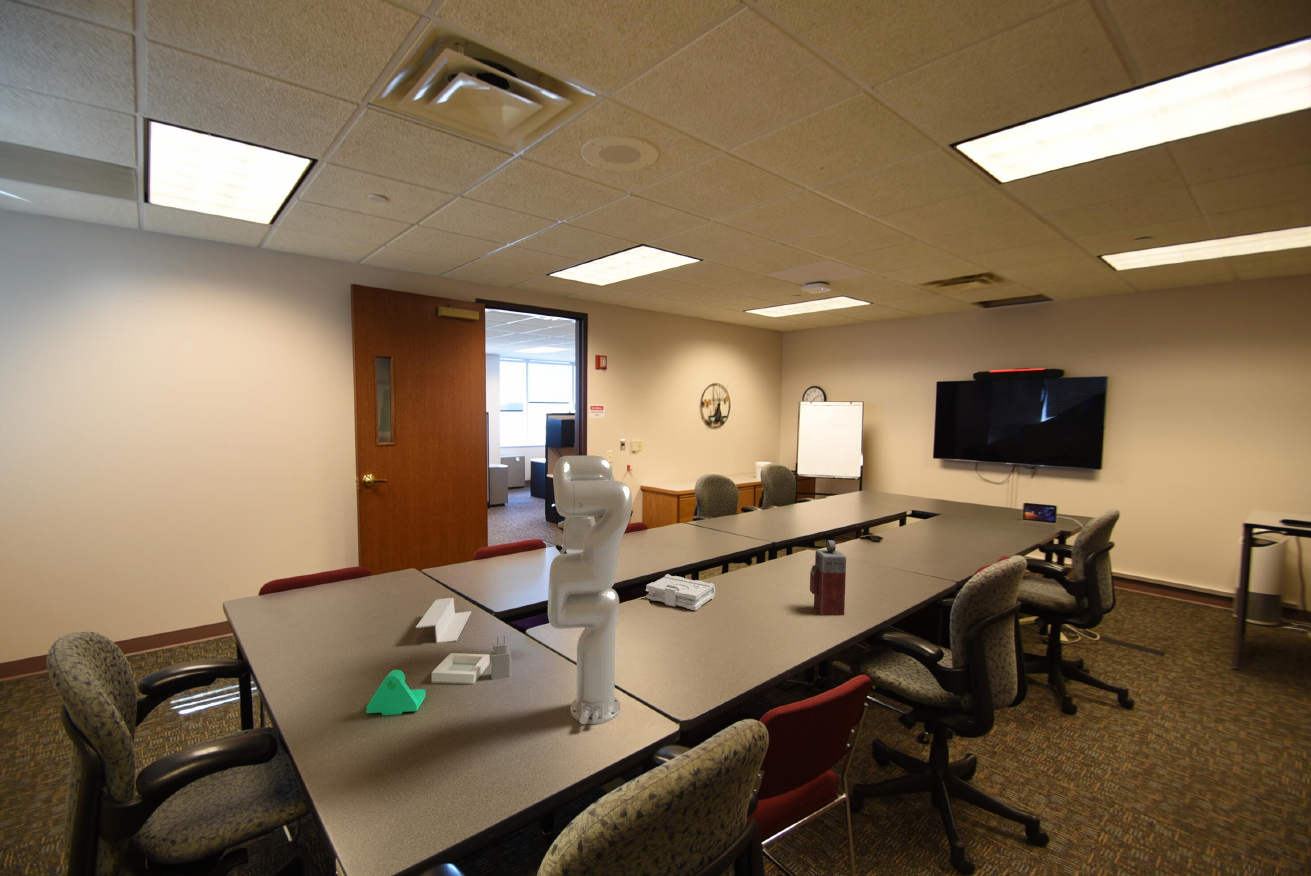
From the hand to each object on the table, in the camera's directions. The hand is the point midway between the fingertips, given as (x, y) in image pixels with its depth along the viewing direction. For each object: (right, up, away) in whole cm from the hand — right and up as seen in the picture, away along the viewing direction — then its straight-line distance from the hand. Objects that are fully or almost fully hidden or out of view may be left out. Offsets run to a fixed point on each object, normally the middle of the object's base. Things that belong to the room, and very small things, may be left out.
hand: (579, 566), depth 168 cm
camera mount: (-42, -29, -31) cm, 60 cm away
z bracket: (-49, -26, +18) cm, 59 cm away
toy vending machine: (+89, -27, +37) cm, 100 cm away
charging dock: (-32, -28, -14) cm, 45 cm away
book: (+32, -26, +51) cm, 66 cm away
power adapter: (-20, -28, -16) cm, 38 cm away
